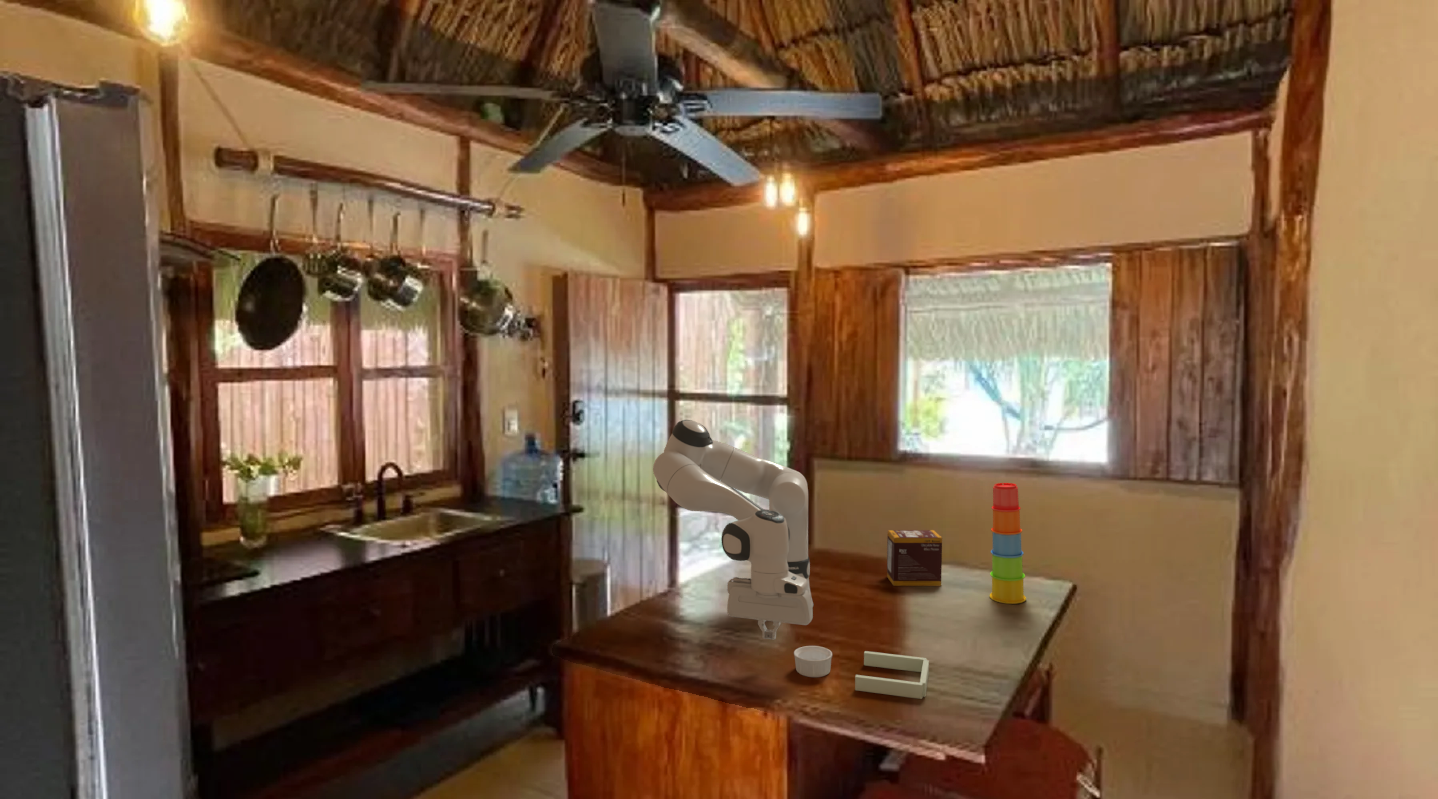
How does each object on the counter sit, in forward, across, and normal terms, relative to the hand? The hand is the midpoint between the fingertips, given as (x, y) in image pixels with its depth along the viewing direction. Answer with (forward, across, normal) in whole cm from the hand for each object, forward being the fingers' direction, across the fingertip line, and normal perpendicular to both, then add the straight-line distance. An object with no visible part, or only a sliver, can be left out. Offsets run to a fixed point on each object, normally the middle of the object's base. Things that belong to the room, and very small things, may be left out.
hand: (769, 638), depth 184 cm
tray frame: (+6, +28, 0) cm, 29 cm away
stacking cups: (+6, +55, +70) cm, 89 cm away
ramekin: (+7, +10, 0) cm, 13 cm away
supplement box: (+6, +27, +79) cm, 84 cm away
